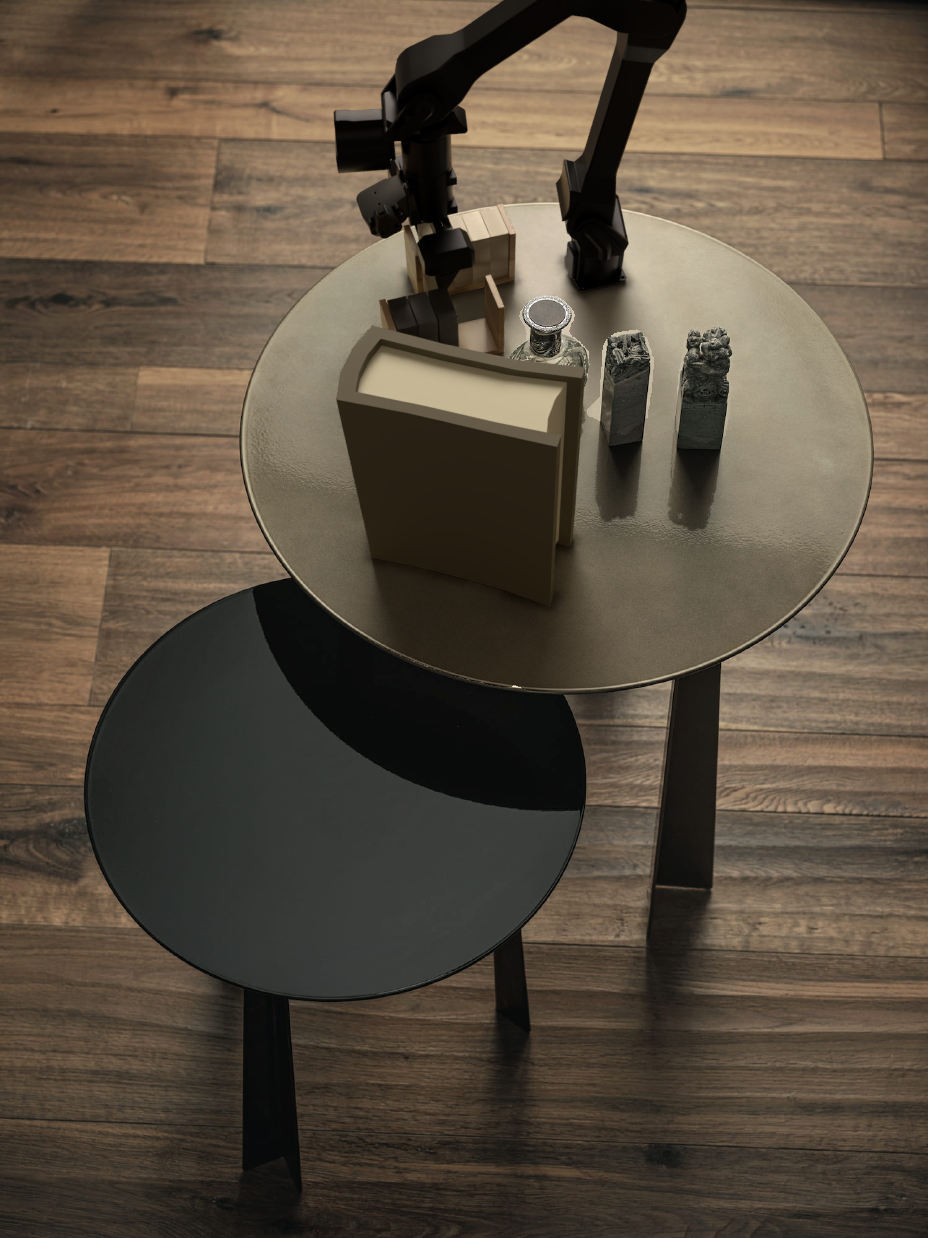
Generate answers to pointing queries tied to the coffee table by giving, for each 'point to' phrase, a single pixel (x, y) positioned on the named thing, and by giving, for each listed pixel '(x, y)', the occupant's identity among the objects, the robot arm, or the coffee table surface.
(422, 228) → the cream book
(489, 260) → the brown rack
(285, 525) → the coffee table surface
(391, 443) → the book
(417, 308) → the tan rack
